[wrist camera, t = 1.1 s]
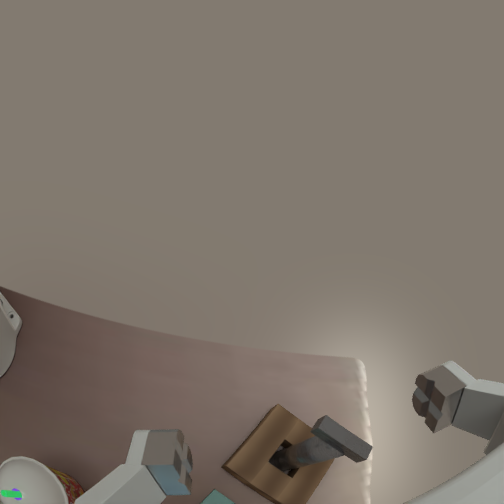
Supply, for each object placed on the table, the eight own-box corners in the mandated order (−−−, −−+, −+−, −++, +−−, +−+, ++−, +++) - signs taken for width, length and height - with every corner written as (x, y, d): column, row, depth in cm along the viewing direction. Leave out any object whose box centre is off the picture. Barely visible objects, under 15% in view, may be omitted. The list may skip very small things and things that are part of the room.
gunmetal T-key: (256, 456, 36) (314, 434, 25) (269, 440, 39) (329, 408, 27) (291, 480, 34) (363, 466, 23) (303, 464, 37) (375, 440, 25)
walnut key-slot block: (221, 467, 34) (226, 465, 32) (271, 408, 43) (278, 403, 41) (289, 512, 30) (298, 512, 28) (330, 451, 40) (340, 447, 38)
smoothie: (76, 531, 19) (25, 557, 6) (28, 492, 20) (-48, 482, 7) (103, 493, 25) (67, 498, 12) (55, 456, 26) (-8, 426, 13)
